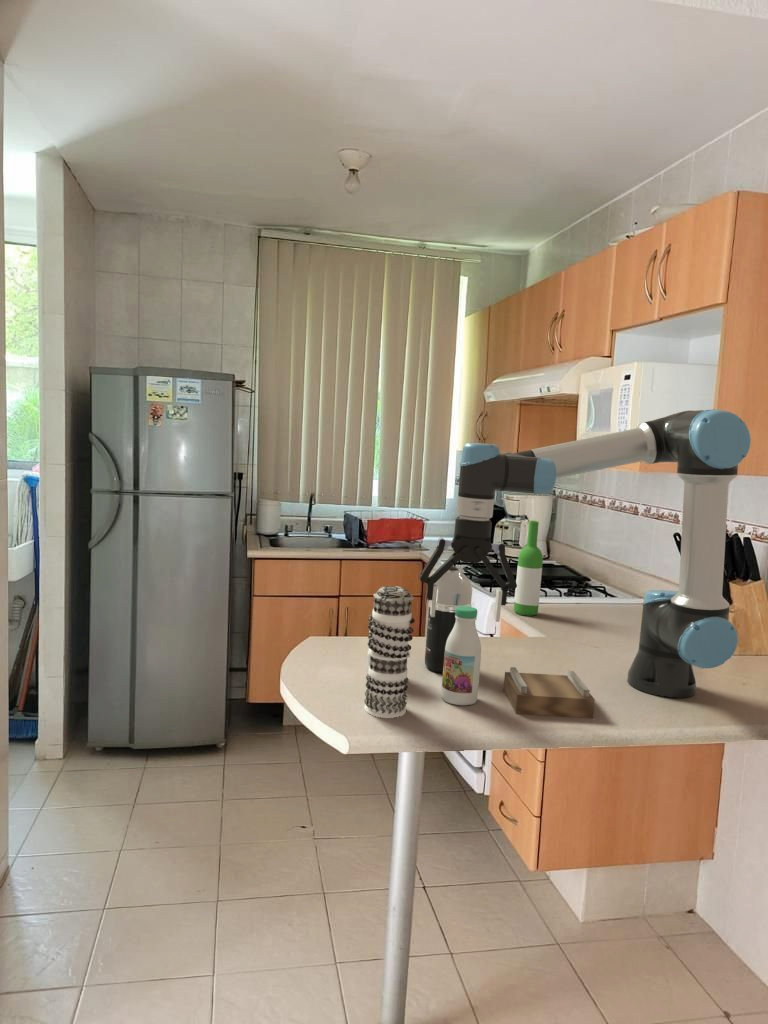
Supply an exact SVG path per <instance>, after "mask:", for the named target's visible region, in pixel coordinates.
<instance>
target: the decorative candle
mask: <svg viewBox="0 0 768 1024" xmlns="http://www.w3.org/2000/svg"><path fill="white" fill-rule="evenodd" d="M372 595H373V598H374V599H373V607H372V612H371V614H369V616H368V619H367V621H368V622H369V623H368V625H367V628H368V631H369V630H370V631H371V632H368V636H367V638H368V640H369V639H370V640H369V642H368V641H367V647H368V646H369V648H370V649H369V651H368V650H367V653H368V654H369V655H370V665H369V670H368V674H367V676H365V677H366V678H365V679H366V682H365V687H366V689H365V691H364V696H365V698H364V700H363V701H364V712H365V713H367V714H368V713H369V714H368V715H370V714H371V715H370V716H372V715H373V716H372V717H375V716H376V718H380V717H381V718H382V719H394V718H393V717H397V718H400V717H403V716H404V715H405V714H406V712H407V711H406V710H407V709H406V707H407V705H408V704H407V703H408V702H407V701H406V700H408V699H407V698H408V694H407V691H408V688H409V686H408V685H407V684H408V682H409V678H408V659H409V658H410V657H411V652H410V651H411V649H412V646H411V645H410V644H409V642H411V641H412V640H413V639H414V638H413V635H411V634H412V633H414V628H413V627H411V626H410V625H412V624H414V623H415V621H416V619H415V618H414V617H412V615H413V614H412V601H413V600H414V599H415V597H414V596H413V595H411V593H410V591H409V589H407V588H406V587H405V588H404V587H401V586H397V585H386V586H381V587H379V589H378V590H377V591H376V592H375V593H373V594H372ZM371 626H373V627H371ZM371 644H372V645H371ZM399 716H400V717H399ZM381 718H380V719H381Z"/></svg>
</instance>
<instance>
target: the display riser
mask: <svg viewBox="0 0 768 1024" xmlns="http://www.w3.org/2000/svg"><path fill="white" fill-rule="evenodd" d="M590 690H591V689H589V688H588V686H587V685H586V684H585V683H584V681H583V680H582V679H581V677H579V675H578V674H577V673H576V672H575V671H574V670H568V671H567V674H566V675H563V674H545V673H532V672H530V673H527V672H519V671H518V669H517V667H515V666H514V667H513V666H510V668H509V671H504V678H503V691H504V693H505V694H506V695H505V696H506V697H507V699H508V701H509V703H510V705H511V707H512V709H513V711H514V713H515V714H517V715H518V714H519V715H534V716H535V715H537V716H553V717H571V718H587V719H593V718H594V712H595V711H594V709H595V701H596V699H595V698H594V697H593V695H591V694H592V693H590V692H591V691H590Z"/></svg>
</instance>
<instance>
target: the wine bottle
mask: <svg viewBox="0 0 768 1024" xmlns="http://www.w3.org/2000/svg"><path fill="white" fill-rule="evenodd" d="M539 524H540V523H539V521H537V520H529V522H528V532H527V533H528V534H527V543H526V546H524V547H523V548H521V550H520V552H519V554H518V558H517V560H518V561H517V571H516V579H515V581H516V584H517V587H516V588H515V590H514V601H513V602H514V603H513V611H514V613H516V614H518V615H521V616H527V617H528V616H529V617H531V616H533V617H534V616H536V615H537V614H538V612H539V607H540V606H539V605H540V595H541V584H542V583H541V582H542V574H543V564H544V556H543V553H542V551H541V549H540V548H538V535H539Z"/></svg>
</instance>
